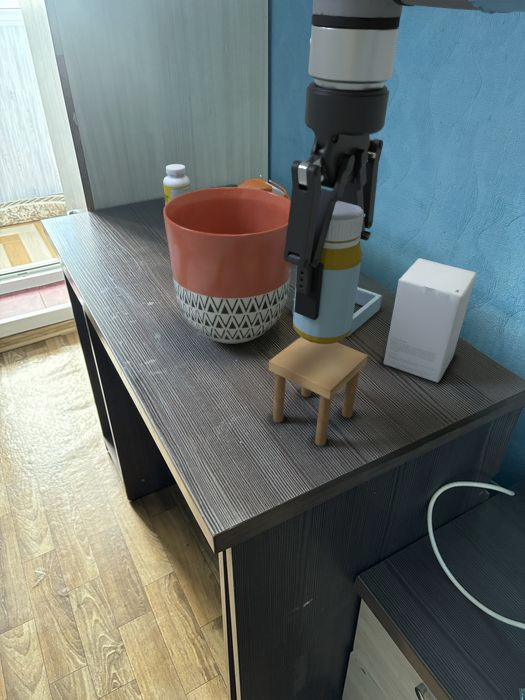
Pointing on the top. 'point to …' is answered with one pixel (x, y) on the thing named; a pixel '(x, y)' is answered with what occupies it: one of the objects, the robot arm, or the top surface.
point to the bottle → (336, 278)
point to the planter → (229, 260)
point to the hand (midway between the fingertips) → (324, 301)
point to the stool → (317, 377)
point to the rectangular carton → (428, 318)
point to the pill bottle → (175, 182)
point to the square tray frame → (369, 308)
